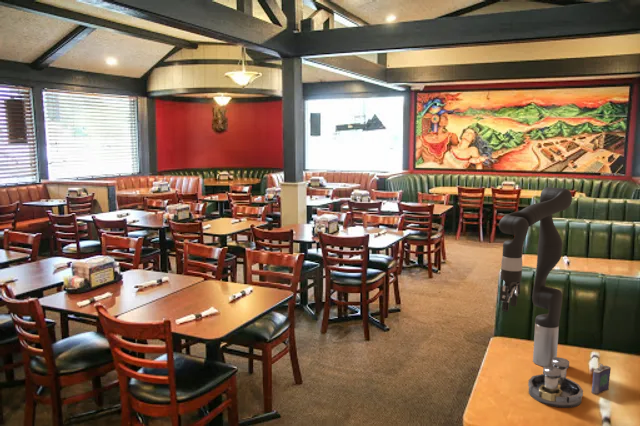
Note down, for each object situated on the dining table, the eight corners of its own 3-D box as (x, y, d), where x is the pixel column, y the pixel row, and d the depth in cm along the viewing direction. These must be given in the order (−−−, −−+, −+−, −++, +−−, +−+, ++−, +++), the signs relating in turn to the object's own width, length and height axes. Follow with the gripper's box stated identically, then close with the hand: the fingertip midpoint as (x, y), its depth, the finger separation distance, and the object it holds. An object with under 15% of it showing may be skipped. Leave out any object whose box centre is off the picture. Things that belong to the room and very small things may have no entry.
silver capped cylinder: (544, 389, 190) (546, 364, 189) (561, 395, 186) (563, 369, 185) (539, 395, 186) (540, 369, 184) (556, 401, 182) (558, 374, 180)
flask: (596, 395, 190) (598, 368, 188) (588, 392, 192) (590, 365, 191) (610, 389, 195) (612, 362, 193) (602, 386, 197) (605, 360, 196)
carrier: (537, 379, 203) (539, 351, 201) (587, 394, 191) (589, 363, 189) (521, 396, 189) (523, 366, 187) (573, 413, 177) (575, 381, 176)
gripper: (514, 273, 187) (512, 315, 189) (528, 265, 197) (525, 306, 200) (494, 269, 191) (492, 311, 194) (508, 262, 202) (506, 302, 204)
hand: (509, 308), depth 197 cm, fingers open, 8 cm apart
